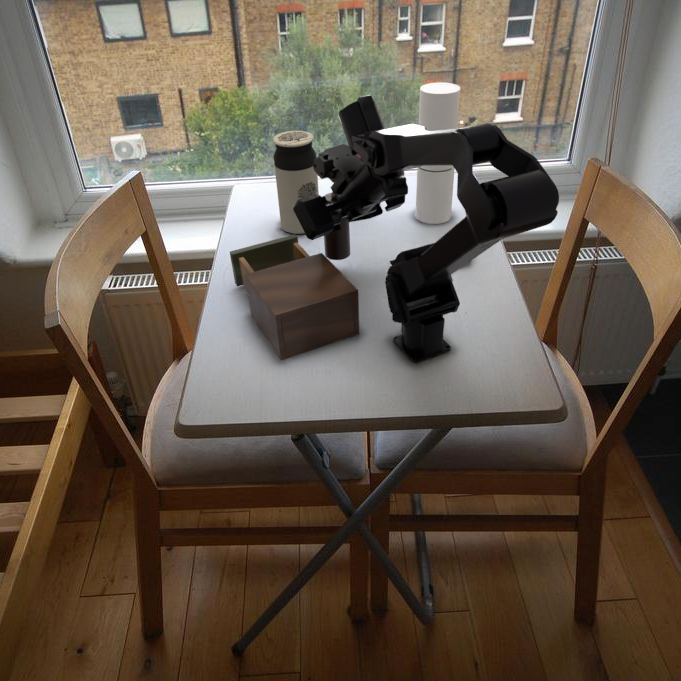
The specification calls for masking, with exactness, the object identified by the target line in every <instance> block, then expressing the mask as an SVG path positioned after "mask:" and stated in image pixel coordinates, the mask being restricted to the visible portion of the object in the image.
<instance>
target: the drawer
mask: <svg viewBox="0 0 681 681" xmlns="http://www.w3.org/2000/svg"><path fill="white" fill-rule="evenodd" d="M229 255H230V256H229V257H230V263H231V268H232V274H233V280H234V285H235V286H236V287H243V289H244V290H245V292H246V293H247V294H248V290H247V284H246V277H245V274H248V273H252V272H256V271H259V270H263V269H266V268H270V267H273V266H277V265H280V264H284V263H288V262H291V261H295V260H298V259H302V258H305V257H309V256H311V255H310V254H309V253H308V252H307V251H306V250H305V249H304V248H303V247H302V246H301V244H299V237H298V235H297V234H294V233H293V234H290V235H287V236H283V237H280V238H276V239H272V240H268V241H264V242H260V243H257V244H256V243H255V244H252V245H249V246H246V247H242V248H239V249H235V250H231V251H229Z"/></svg>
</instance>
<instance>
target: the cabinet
mask: <svg viewBox="0 0 681 681" xmlns="http://www.w3.org/2000/svg"><path fill="white" fill-rule="evenodd" d="M245 277H246V284H247V290H248V293H247V296H248V302H249V309H250V315H251V319H252V320H253V322H254V323H255V324H256V326H257V327H258V328H259V330H260V331H261V333H262V335H263V336H264V337H265V339H266V341H267V342H268V343H269V345H270V346H271V347H272V349H273V351H274V352H275V354H276V355H277V357H278V358H279V359H280V361H283V360H286V359H288V358H291V357H292V358H293V357H294V356H298V355H300V354H303V353H306V352H309V351H311V350H315V349H318V348H321V347H324V346H327V345H330V344H333V343H336V342H339V341H343V340H345V339H348V338H352V337H354V336H358V335H360V310H359V309H360V306H359V304H360V303H359V302H360V301H359V289H358V287H356V286H355V285H354V284H353V283H352V281H350V280H349V279H348V278H347V277H346V276H345V275H344V274H343V273H342V271H341V270H339V268H338V267H337V266H335V265H334V263H333V262H331V261H330V259H329V258H327V257H326V256H325V254H324V253H323V252H319V253H316V254H313V255H310V256H309V257H305V258H302V259H298V260H295V261H291V262H288V263H284V264H280V265H277V266H273V267H270V268H266V269H263V270H259V271H256V272H252V273H248V274H245Z"/></svg>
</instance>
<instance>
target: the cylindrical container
mask: <svg viewBox="0 0 681 681" xmlns="http://www.w3.org/2000/svg"><path fill="white" fill-rule="evenodd" d="M460 99H461V86H460V85H458V84H456V83H453V82H452V83H451V82H440V81H439V82H430V83H429V82H428V83H425V84H423V85H421V86H420V87H419V105H418V106H419V107H418V108H419V109H418V115H419V116H418V125H420V126H424V127H426V130H427V131H438V130H448V129H457V128H459V127H458V126H459V113H460ZM454 180H455V168H454V167H453V165H428V166H421V167H418V168H416V193H415V195H416V196H415V218H416V220H418V221H419V222H420V223H423V224H428V225H439V224H444V223H447V222H448V221H450V220H451V218H452V209H453V208H452V207H453V195H454V194H453V193H454Z"/></svg>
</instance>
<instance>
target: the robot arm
mask: <svg viewBox="0 0 681 681" xmlns="http://www.w3.org/2000/svg"><path fill="white" fill-rule="evenodd" d="M337 115H338V116H337V117H338V119H339V121H340V122H339V123H340V124H341V127H342V130H343V133H344V136H345V139H346V142H347V144H344V143H341V144H338V145H335V146H332V147H329V148H326V149H324V150H323V151H322V152H318V156H316V158H315V161H314V165H313V169H314V171H315V172H316V173H317V176H318V177H319V178H320V179H321V180H324V179H329V180H330V181H331V182H332V184H331V186H330V187H329V188H330V189H331V193H332V192H333V193H334V194H337V196H335V197H332V198H331V202H332V204H331V205H330V204H329V203H328V202H327V200H326V198H325V195H323V196H322V195H320V194H319V195H318V194H313V195H310V196H307V197H304V198H301V199H298V200H297V202H296V203H295V204H294V207H293V210H294V212H295V214H296V216H297V218H298V220H299V222H300V224H301V226H302V228H303V230H304V232H305V233H304V234H305V236H306V238H307V239H308V240H311V241H315V240H317V239H319V238H322V237H324V236H325V235H327V234H331V233H333V232H336V231H339V230H341V227H340V225H339V224H340V223H341V221H342V218H344V217H346V216H348V217H349V223H353V222H358V221H364V220H370V219H373V218H375V217H378V216H380V215H382V214H383V212H384V210H383V208H382V206H381V204H382V203H383V202H385V204H386V206H384V209H385V212H390V211H393V210H396V209H398V208H400V207H402V205H403V204H405V203H406V195H409V194H408V193H409V185H408V182H407V177H405V171H408V170H413V169H417V168H418V167H421V166H428V165H453V167H454V168H455V169H454V171H455V172H456V173H457V181H456V182H457V185H456V189H457V190H456V197H457V200H458V201H459V203H460V205H461V206H462V208H463V209H464V212H465V217H463V218H462V219H461V220H460V221H459V222H458V223H456V224H455V225H454V226H453V227H452V228H450V229H449V230H448V231H447V232H446V233H444V235H442V236H441V237H440V238H439V239H438V240H436V242H432V243H428V244H425V245H421V246H417V247H414V248H410V249H406V250H403V251H400V252H399V253H398V254H397V255H396V257H395V259H391V260H389V264H390V265H389V267H388V269H387V272H386V276H385V280H384V284H385V285H384V286H385V291H386V297H387V304H388V308H389V311H390V313H391V314H392V316H391V319H392V321H393V322H394V323H398V324H401V326H400V328H401V329H400V330H401V334H398V335H396V336H393V337H392V342H393V343H394V344H395V345H396V346H397V347H398V349H399V350H400V351H402V352H403V354H404V355H405V356H406V357H407V358H408V359H409V360H410V361H411V362H412V363H414V364H418V363H420V362H423V361H426V360H429V359H432V358H435V357H437V356H439V355H443V354H445V353H449V352H450V351H451V350H452V346H451V345H450V344H449V343H448V342H447V341H446V340H445V339H444V331H445V317H444V316H446V315H448V314H451V313H457V311H458V309H459V307H460V305H461V302H460V298H459V296H458V293H457V291H456V288H455V285H454V279H453V277H452V275H453V274H454V273H455V272H457V271H458V270H460V269H461V268H464V266H466V265H467V264H469V263H470V262H472V261H473V260H475V259H476V258H477V257H479V256H480V255H481V254H483V253H485V252H487V250H489V249H490V248H491V247H493V246H495V245H496V244H497V243H499V242H500V241H502V240H505V239H506V238H511V237H513V236H516V235H520V234H523V233H526V232H531V231H533V230H535V229H539V228H542V227H544V226H547V225H550V224H552V223H553V222H554V221H555V219H556V217H557V216H558V213H559V212H558V210H557V208H558V206H559V203H560V193H559V189H558V187H557V185H556V183H555V182H554V181H553V179H552V178H551V177H550V175H549V174H548V172H547V171H546V170H545V168H544V167H543V165H542V163H540V161H539V160H538V158H537V157H536V156H534V155H533V154H531V153H529V152H528V151H526V150H525V149H523V148H521V147H520V146H518V145H516V144H515V143H513V142H511V141H510V140H509V139H508V138H507V137H506V135H505V134H504V133H503V131H502V130H501V128H500V127H499V126H497V125H496V124H493V123H489V122H485V123H484V122H483V123H480V124H479V123H478V124H475V125H468V126H465V127H458V128H457V129H448V130H438V131H427V130H426V127H424V126H420V125H419V124H416V123H409V124H404V125H399V126H391V127H385V124H384V121H383V118H382V116H381V114H380V111H379V108H378V105H377V102H376V101H375V100H374V99H373V96H372V95H371V94H367V95H362V96H358V97H357V100H356V101H352V102H351V103H350V104H348V105H346V106H344V108H343V109H340V110H339V112H338V114H337ZM356 154H359V155H360V157H361V158H362V159H363V160H364V161H363V162H362V163H361V160H360V158H359V157H358V156H357V155H356ZM485 163H490V165H491V167H493V168H495V169H496V170H497V171H499V172H501V173H503V174H504V175H505V176H504V177H500V178H495V179H492V180H488V181H483V182H481V183H480V182H479V181H478V179H477V178H476V176H475V175H474V173H473V169H474V166H477V165H480V164H485ZM341 211H342V212H341ZM337 212H338V213H337Z"/></svg>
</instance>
